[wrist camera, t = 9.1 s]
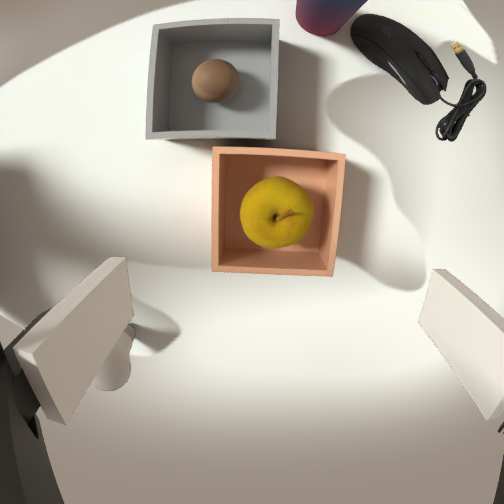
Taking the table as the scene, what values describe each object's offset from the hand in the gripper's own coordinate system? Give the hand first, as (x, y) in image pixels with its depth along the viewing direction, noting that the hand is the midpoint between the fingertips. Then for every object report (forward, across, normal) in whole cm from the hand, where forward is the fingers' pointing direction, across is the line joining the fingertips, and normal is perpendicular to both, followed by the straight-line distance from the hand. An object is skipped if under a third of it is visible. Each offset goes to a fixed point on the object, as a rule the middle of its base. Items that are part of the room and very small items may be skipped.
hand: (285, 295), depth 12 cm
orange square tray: (+20, +1, 0) cm, 20 cm away
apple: (+20, 0, 0) cm, 20 cm away
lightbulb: (+21, -17, -17) cm, 32 cm away
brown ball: (+20, -5, +12) cm, 24 cm away
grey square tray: (+20, -5, +12) cm, 24 cm away
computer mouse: (+21, +17, +18) cm, 33 cm away
